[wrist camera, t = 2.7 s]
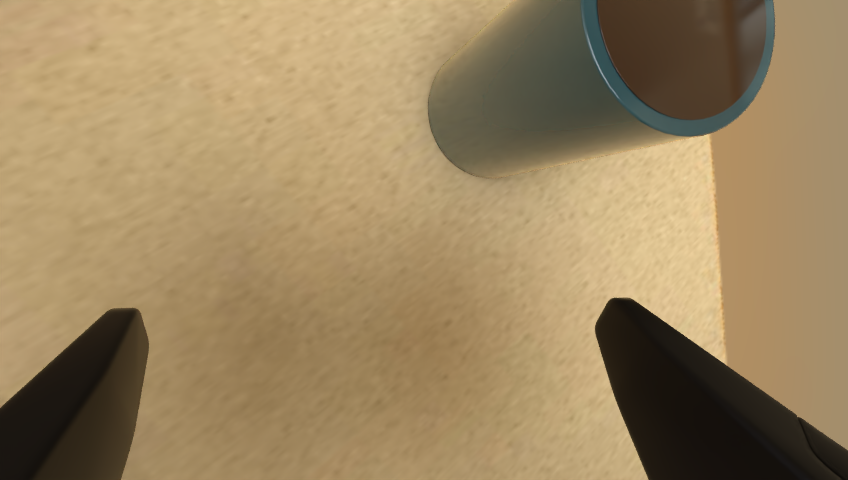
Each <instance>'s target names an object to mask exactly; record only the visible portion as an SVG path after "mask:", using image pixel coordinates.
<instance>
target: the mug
mask: <svg viewBox="0 0 848 480" xmlns="http://www.w3.org/2000/svg"><path fill="white" fill-rule="evenodd" d="M774 37H775V14H774V3H773V0H513V1H512V2H511V3H510V4H509V5H508V6H506V7H505V8H504V9H503V10H502V11H501V12H500V13H499V14H498V15H497V16H496V17H495V18H493V19H492V20H491V21H490V22H489V23H488V24H487V25H486V26H485V27H484V28H483V29H482V30H480V31H479V32H478V33H477V34H476V35H475V36H474V37H473V38H472V39H471V40H470V41H468V42H467V43H466V44H465V45H464V46H463V47H462V48H461V49H460V50H459V51H458V52H457V53H455V54H454V55H453V56H452V57H451V58H450V59H449V60H448V61H447V62H446V63H445V64H444V65H443V66H442V68H441V69H440V70H439V72H438V73H437V75H436V77H435V79H434V81H433V84H432V87H431V90H430V95H429V102H428V114H429V122H430V126H431V130H432V133H433V135H434V138H435V140H436V142H437V144H438V146H439V147H440V149H441V150H442V152H443V153H444V154H445V156H446V157H447V158H448V159H449V160H450V161H451V162H452V163H453V164H455V165H456V166H457V167H458V168H460V169H462V170H463V171H465V172H467V173H469V174H471V175H474V176H478V177H482V178H502V177H507V176H512V175H516V174H521V173H526V172H531V171H536V170H540V169H545V168H550V167H555V166H559V165H564V164H569V163H574V162H579V161H583V160H588V159H593V158H598V157H603V156H607V155H612V154H617V153H622V152H627V151H631V150H636V149H641V148H646V147H651V146H655V145H660V144H665V143H670V142H674V141H679V140H684V139H689V138H694V137H698V136H703V135H706V134H710V133H713V132H716V131H717V130H720V129H722V128H724V127H726V126H727V125H728V124H730V123H731V122H733V121H734V120H735V119H737V118H738V117H739V116H740V115H741V114H742V113H743V112H744V111H745V110H746V109H747V108H748V106H749V105H750V104H751V103H752V101H753V100H754V98H755V97H756V95H757V94H758V92H759V90H760V88H761V86H762V84H763V82H764V79H765V77H766V74H767V72H768V68H769V65H770V61H771V57H772V52H773V46H774Z"/></svg>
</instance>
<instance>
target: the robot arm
mask: <svg viewBox="0 0 848 480" xmlns="http://www.w3.org/2000/svg"><path fill="white" fill-rule="evenodd" d="M595 333H596V337H597V341H598V344H599V347H600V351H601V354H602V357H603V361H604V364H605V367H606V371H607V374H608V377H609V380H610V384H611V387H612V390H613V393H614V396H615V399H616V402H617V404H618V407H619V409H620V412H621V414H622V417H623V419H624V422H625V424H626V426H627V429H628V431H629V434H630V436H631V438H632V441H633V443H634V446H635V448H636V450H637V453H638V455H639V458H640V460H641V462H642V465H643V467H644V470H645V472H646V474H647V477H648V479H649V480H848V450H846V449H845V448H843V447H842V446H841V445H839V444H837V443H836V442H835V441H833V440H832V439H830V438H829V437H827V436H826V435H824V434H823V433H822V432H820V431H819V430H817V429H816V428H814V427H813V426H812V425H810V424H809V423H807V422H806V421H805V420H803V419H802V418H799V417H797V415H796V414H794V413H793V412H792V411H790V410H788V408H786V407H785V406H783V405H782V404H780V403H779V402H778V401H776V400H774V399H773V398H772V397H770V396H769V395H768V394H766V393H765V392H763V391H762V390H760V389H759V388H758V387H756V386H755V385H753V384H752V383H751V382H749V381H748V380H746V379H745V378H744V377H742V376H740V375H739V374H738V373H736V372H735V371H734V370H732V369H731V368H729V367H728V366H727V365H725V364H724V363H722V362H721V361H719V360H718V359H717V358H715V357H714V356H712V355H711V354H710V353H708V352H707V351H705V350H704V349H702V348H701V347H700V346H698V345H697V344H695V343H694V342H692V341H691V340H690V339H688V338H687V337H685V336H684V335H683V334H681V333H680V332H678V331H677V330H675V329H674V328H673V327H671V326H670V325H668V324H667V323H666V322H664V321H663V320H661V319H660V318H658V317H657V316H656V315H654V314H653V313H651V312H650V311H649V310H647V309H646V308H644V307H643V306H641V305H640V304H639V303H637V302H636V301H634V300H633V299H631V298H612V299H610V300H609V301H608V303H607V304H606V306H605V308H604V310H603V311H602V313H601V315H600V317H599V319H598V320H597V322H596V326H595ZM148 352H149V340H148V336H147V333H146V329H145V326H144V323H143V319H142V316H141V313H140V311H139V310H138V309H136V308H114V309H111V310H109V311H107V312H106V313H105V314H104V315H102V316H101V317H100V318H99V319H98V320H97V321H96V322H95V323H94V324H92V325H91V326H90V327H89V328H88V329H87V330H86V331H85V332H84V333H83V334H81V335H80V336H79V337H78V338H77V339H76V340H75V341H74V342H73V343H71V344H70V345H69V346H68V347H67V348H66V349H65V350H64V351H63V352H61V353H60V354H59V355H58V356H57V357H56V358H55V359H54V360H53V361H52V362H50V363H49V364H48V365H47V366H46V367H45V368H44V369H43V370H42V371H40V372H39V373H38V374H37V375H36V376H35V377H34V378H33V379H32V380H31V381H29V382H28V383H27V384H26V385H25V386H24V387H23V388H22V389H21V390H19V391H18V392H17V393H16V394H15V395H14V396H13V397H12V398H11V399H10V400H8V401H7V402H6V403H5V404H4V405H3V406H2V407H1V408H0V480H121V477H122V474H123V471H124V467H125V464H126V461H127V458H128V454H129V451H130V447H131V444H132V440H133V436H134V431H135V426H136V421H137V415H138V409H139V404H140V398H141V392H142V387H143V381H144V375H145V369H146V364H147V358H148Z"/></svg>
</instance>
